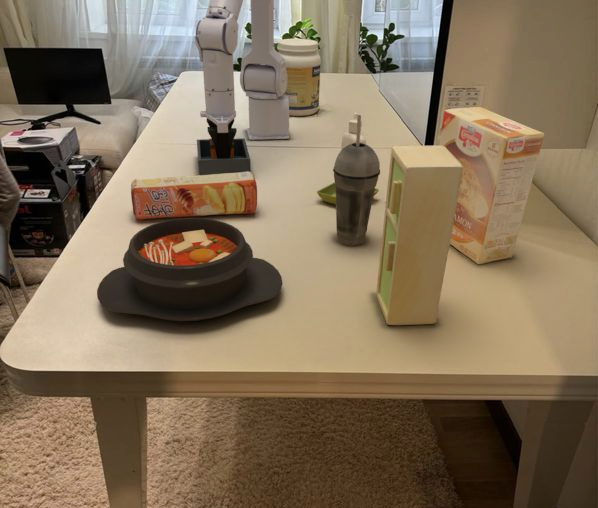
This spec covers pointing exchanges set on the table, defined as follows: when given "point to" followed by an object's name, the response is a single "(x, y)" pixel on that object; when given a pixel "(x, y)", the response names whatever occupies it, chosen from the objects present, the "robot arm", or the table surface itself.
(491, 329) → the table surface
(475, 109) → the coffeecake box
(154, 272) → the casserole
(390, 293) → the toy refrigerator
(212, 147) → the orange rectangular block
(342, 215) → the beverage cup
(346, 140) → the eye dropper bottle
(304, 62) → the supplement tub
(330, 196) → the saucer
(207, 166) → the bin
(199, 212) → the snack package
